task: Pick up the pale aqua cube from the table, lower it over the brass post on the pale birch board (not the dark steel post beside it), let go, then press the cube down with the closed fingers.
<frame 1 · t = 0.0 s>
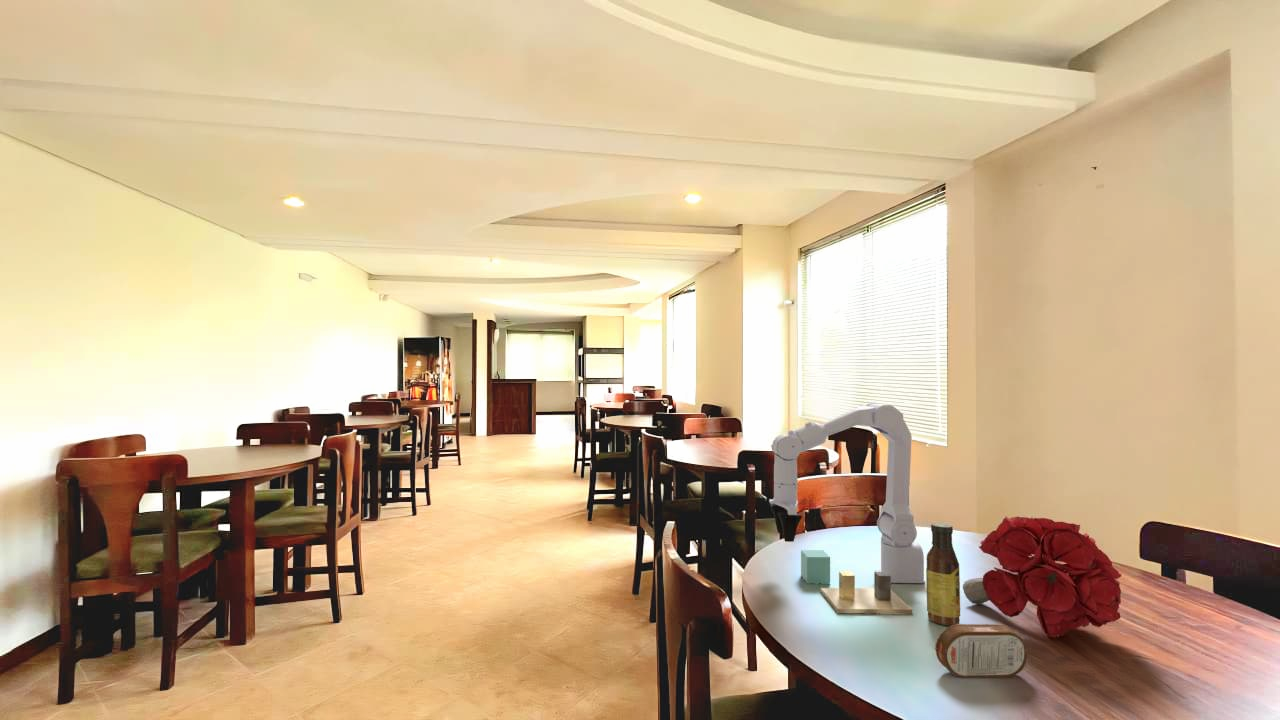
hand: (785, 536, 148), 10 cm above the table, tool pointing down, fingers open, 7 cm apart
brass post: (846, 602, 132), resting on birch board
bouquet: (1035, 626, 120), on the table
tin: (982, 676, 101), on the table
sauce bottle: (943, 621, 123), on the table
birch board: (864, 602, 132), on the table
pale aqua cube: (815, 580, 146), on the table
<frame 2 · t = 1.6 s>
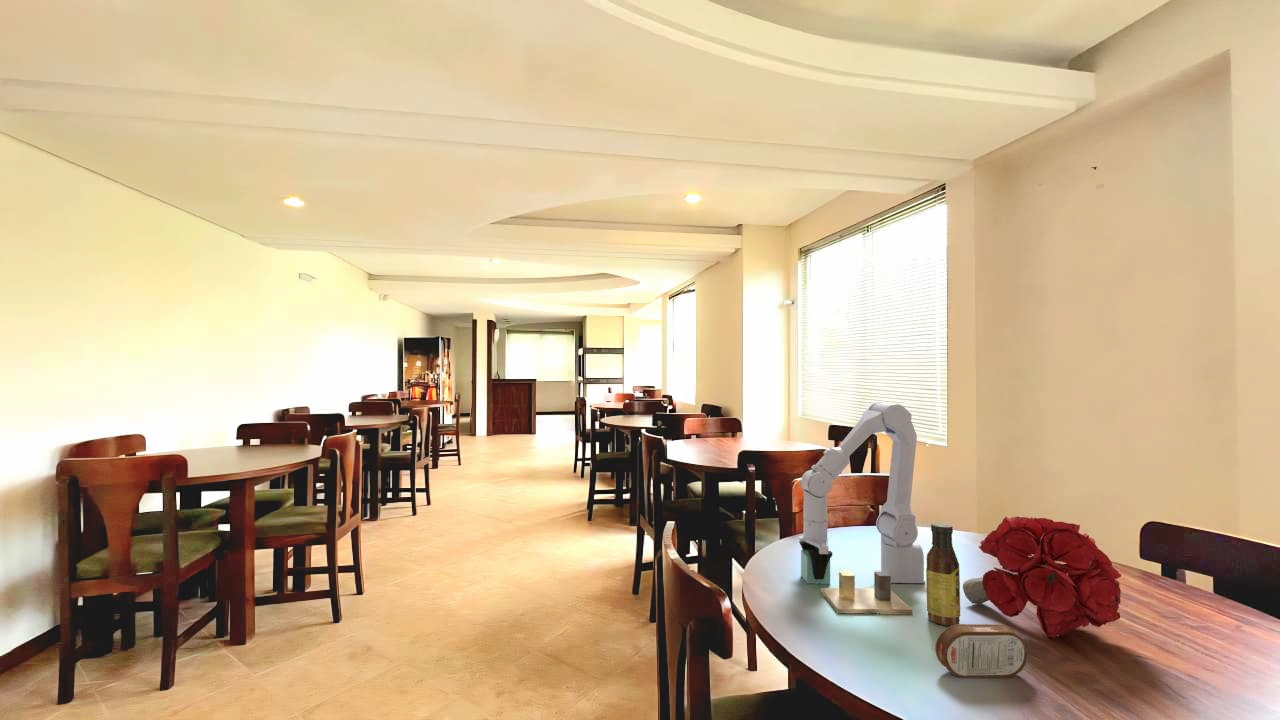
hand: (815, 574, 146), 1 cm above the table, tool pointing down, fingers closed on pale aqua cube, 6 cm apart
pale aqua cube: (815, 580, 146), on the table, touching gripper
everything else where it was.
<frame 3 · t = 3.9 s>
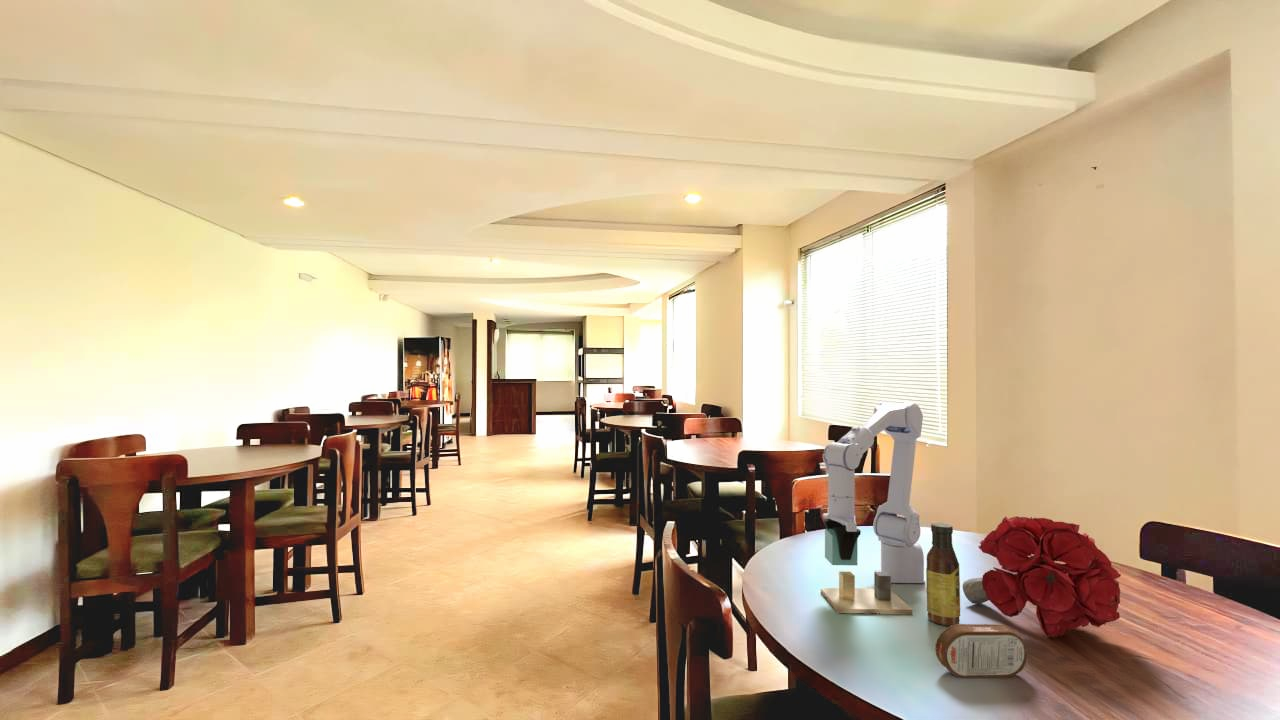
hand: (841, 555, 134), 10 cm above the table, tool pointing down, fingers closed on pale aqua cube, 6 cm apart
pale aqua cube: (840, 561, 134), point 9 cm above the table, touching gripper
everything else where it was.
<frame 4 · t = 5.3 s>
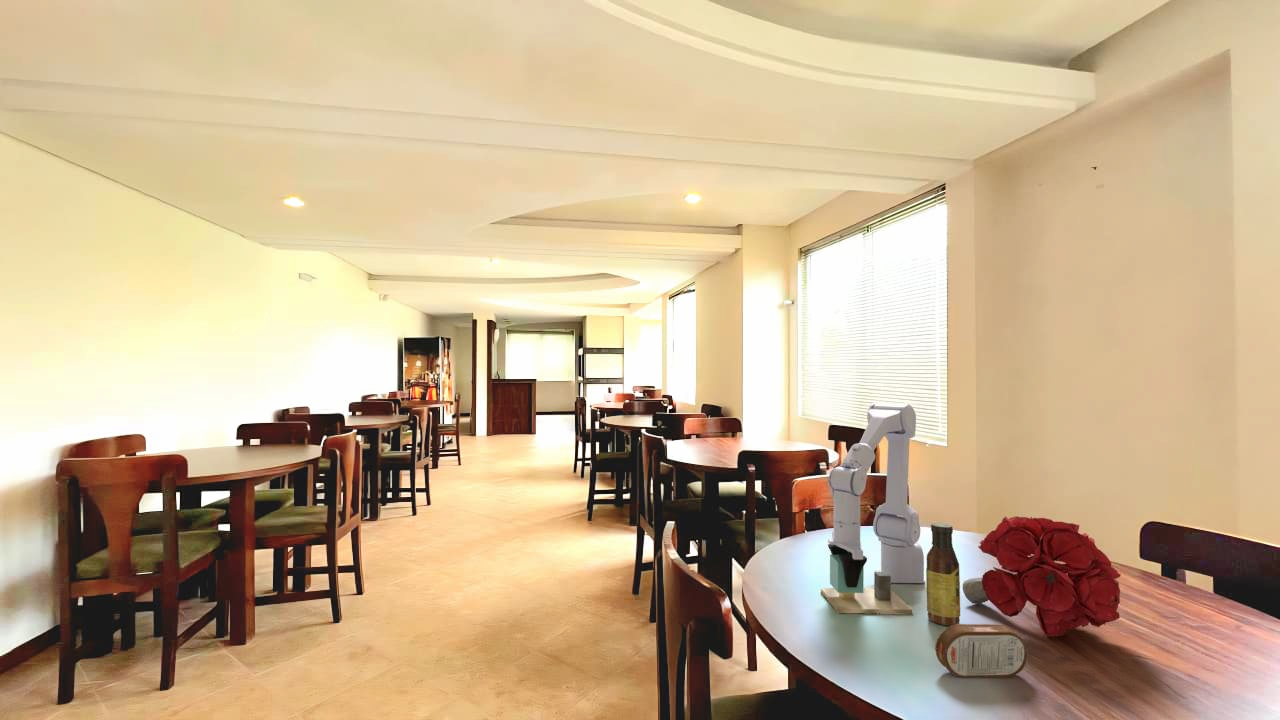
hand: (846, 581, 132), 5 cm above the table, tool pointing down, fingers closed on pale aqua cube, 6 cm apart
pale aqua cube: (846, 588, 132), point 3 cm above the table, touching gripper
everything else where it was.
when the fingers open (3 cm above the table, at t = 6.3 s): pale aqua cube stays where it is, resting on birch board.
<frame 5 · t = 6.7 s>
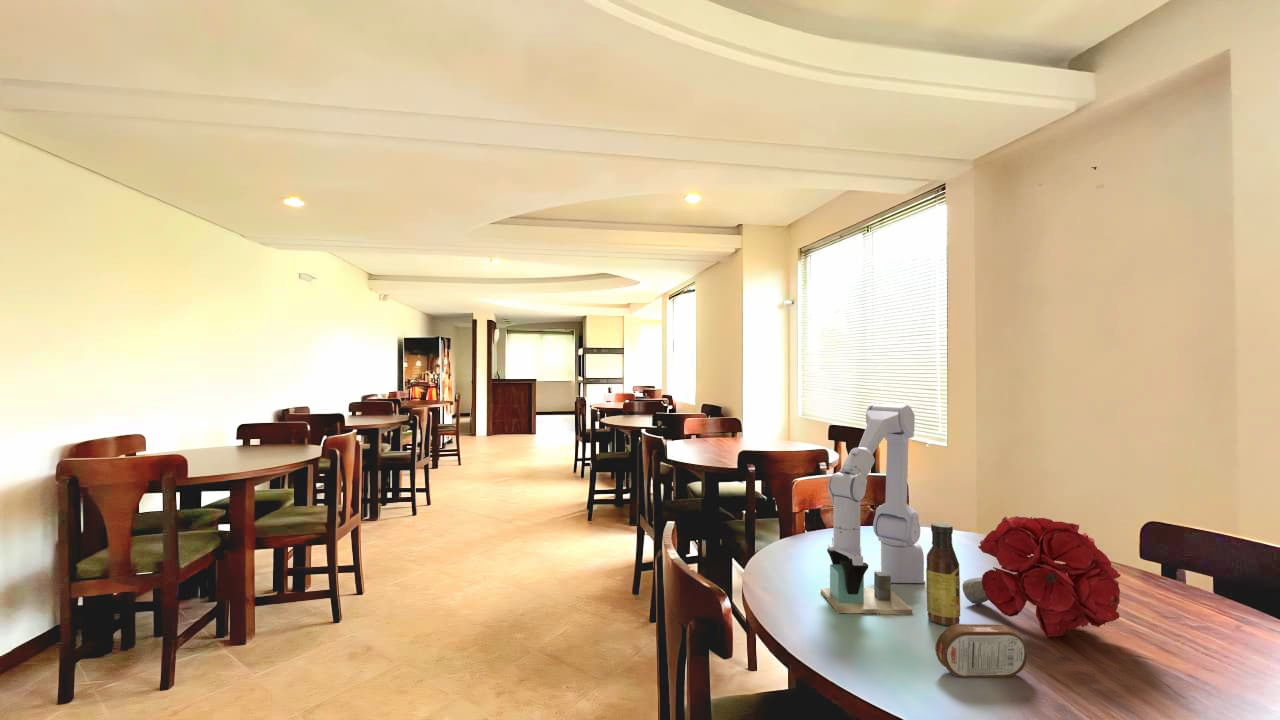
hand: (846, 587, 132), 3 cm above the table, tool pointing down, fingers open, 7 cm apart
pale aqua cube: (846, 598, 132), point 1 cm above the table, touching birch board
everything else where it was.
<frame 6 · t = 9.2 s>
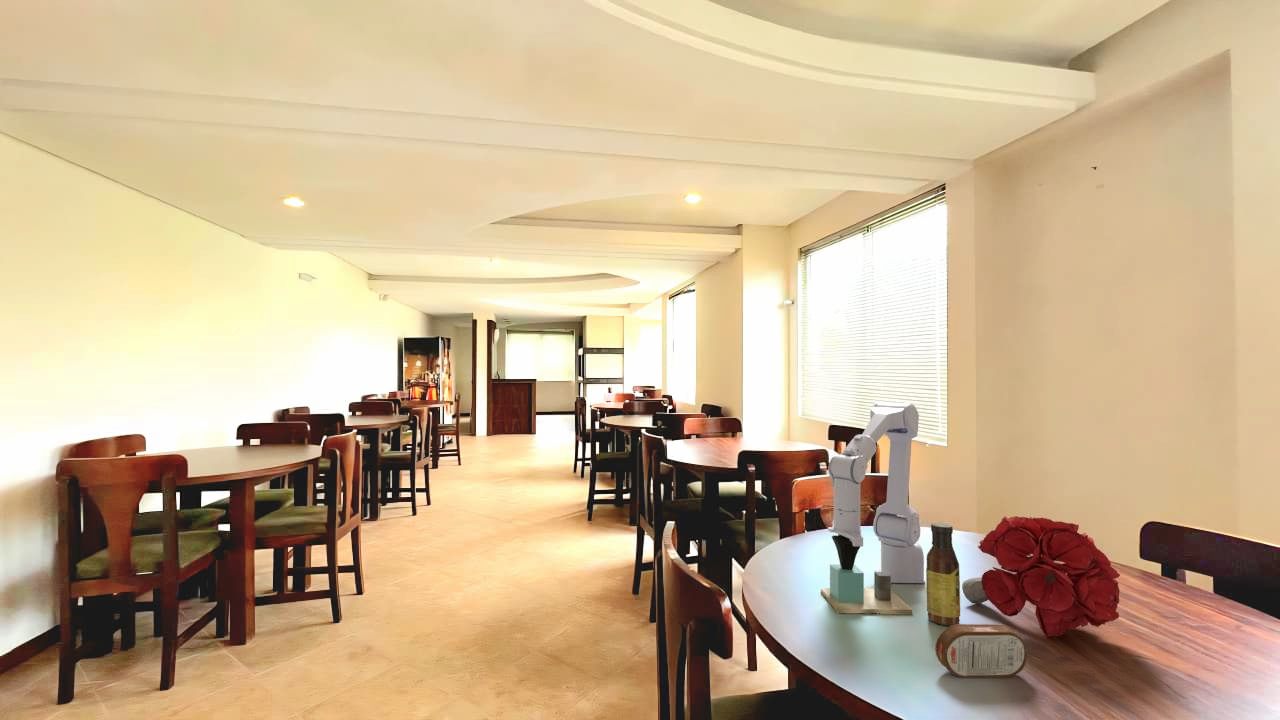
hand: (846, 569, 132), 7 cm above the table, tool pointing down, fingers closed, pressing on pale aqua cube
pale aqua cube: (846, 598, 132), point 1 cm above the table, touching birch board, gripper
everything else where it was.
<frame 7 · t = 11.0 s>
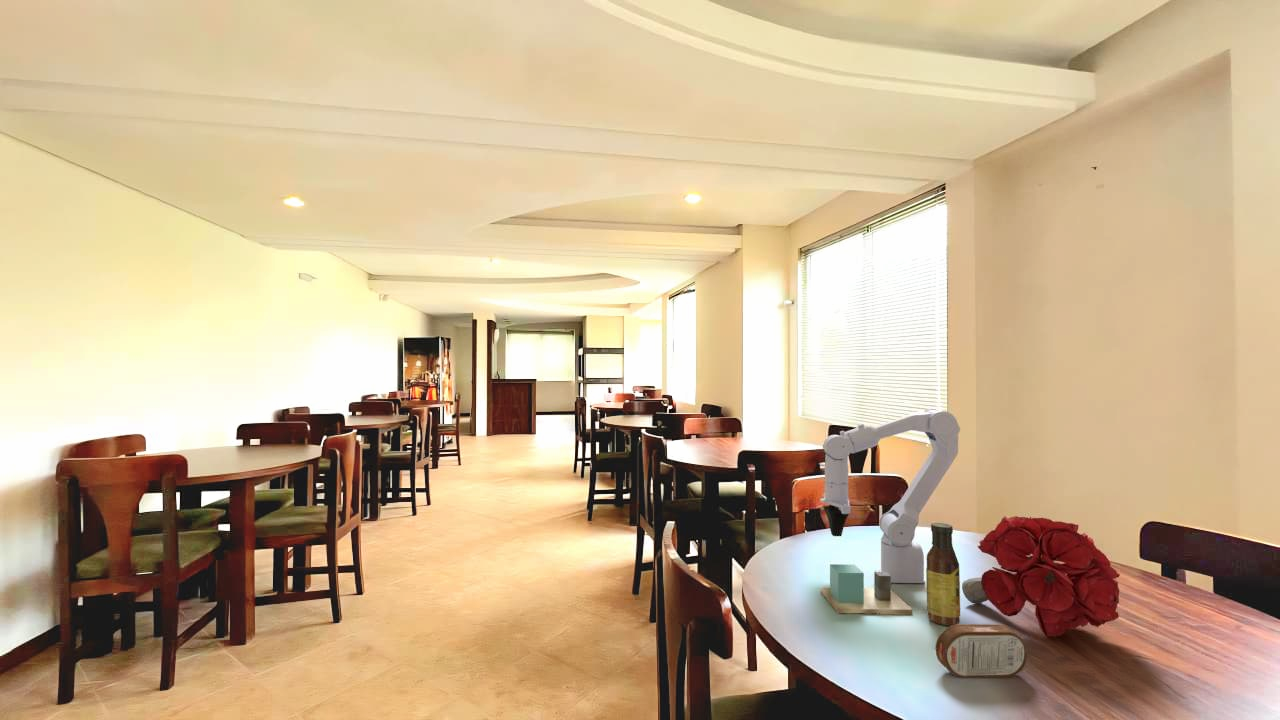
hand: (836, 535, 150), 10 cm above the table, tool pointing down, fingers closed
pale aqua cube: (846, 598, 132), point 1 cm above the table, touching birch board
everything else where it was.
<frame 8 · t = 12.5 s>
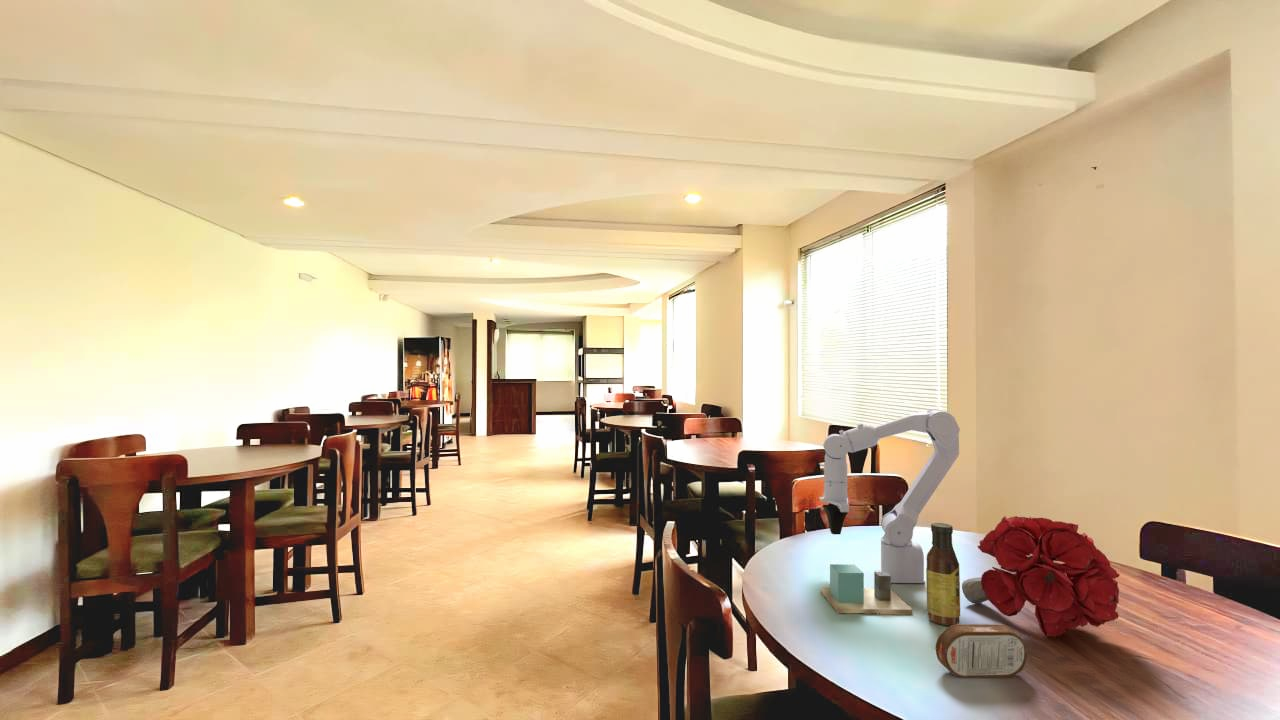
hand: (835, 533, 152), 10 cm above the table, tool pointing down, fingers closed
nothing on the table moved.
at the end: pale aqua cube 0.1 cm off-centre on the brass post, point 1.0 cm above the brass post's base; pale aqua cube tilted 0°; the gripper is holding nothing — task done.
